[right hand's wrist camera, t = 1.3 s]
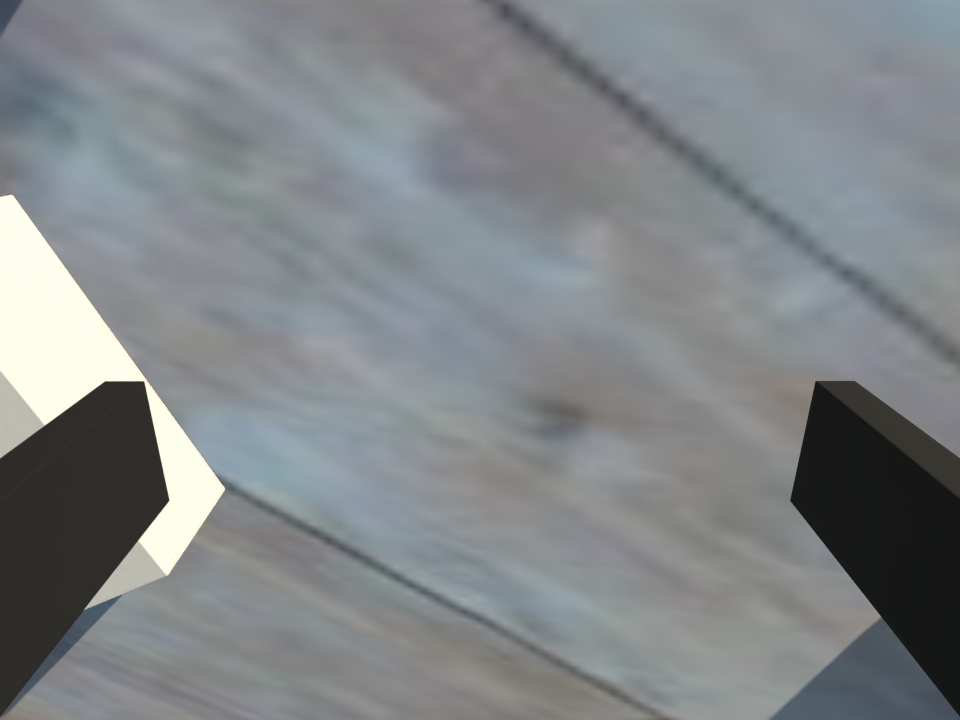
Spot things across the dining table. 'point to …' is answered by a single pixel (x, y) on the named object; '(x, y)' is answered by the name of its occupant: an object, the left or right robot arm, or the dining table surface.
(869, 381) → the dining table surface
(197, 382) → the dining table surface
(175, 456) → the cabinet
